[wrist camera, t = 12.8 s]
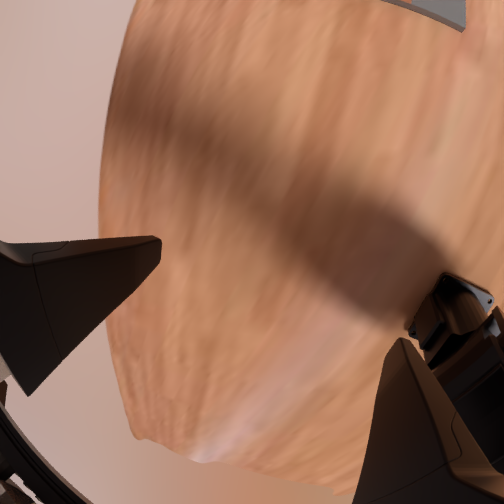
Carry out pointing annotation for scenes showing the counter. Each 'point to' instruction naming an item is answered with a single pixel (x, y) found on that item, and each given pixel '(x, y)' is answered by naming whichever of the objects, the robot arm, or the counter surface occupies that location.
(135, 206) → the counter surface
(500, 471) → the robot arm
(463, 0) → the socket stand
